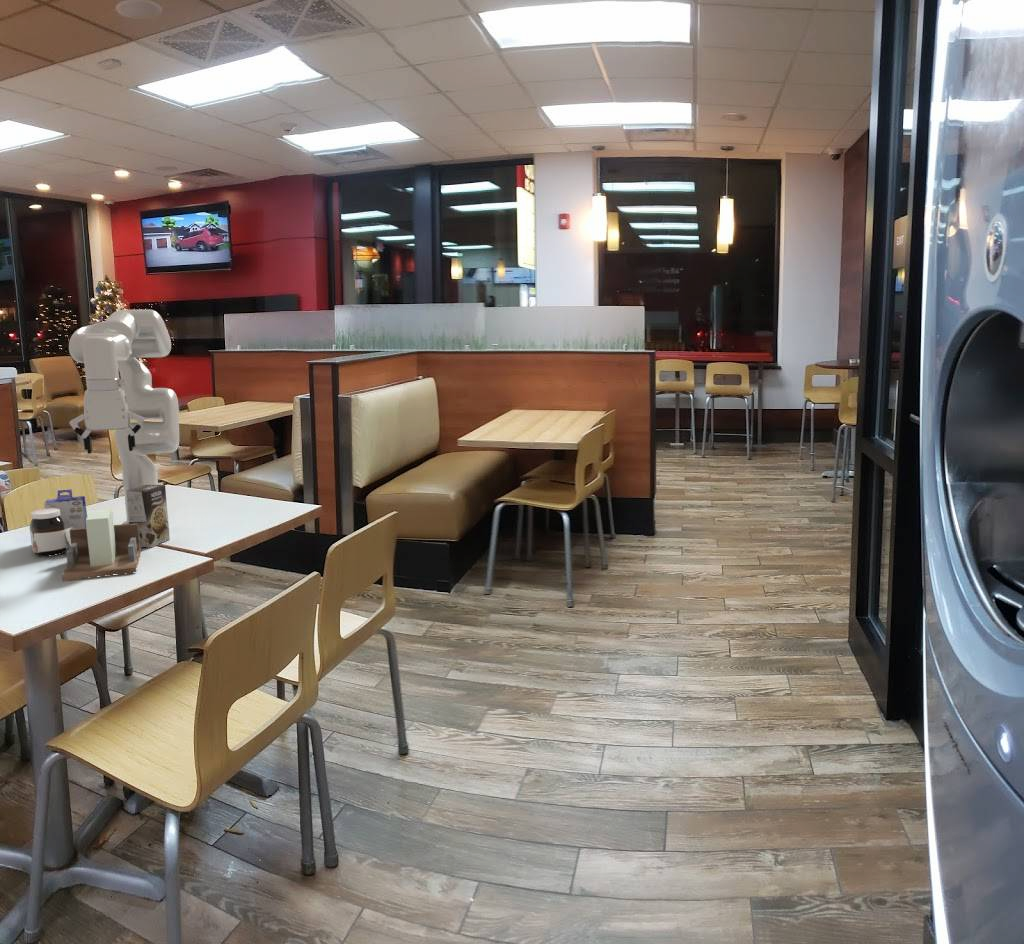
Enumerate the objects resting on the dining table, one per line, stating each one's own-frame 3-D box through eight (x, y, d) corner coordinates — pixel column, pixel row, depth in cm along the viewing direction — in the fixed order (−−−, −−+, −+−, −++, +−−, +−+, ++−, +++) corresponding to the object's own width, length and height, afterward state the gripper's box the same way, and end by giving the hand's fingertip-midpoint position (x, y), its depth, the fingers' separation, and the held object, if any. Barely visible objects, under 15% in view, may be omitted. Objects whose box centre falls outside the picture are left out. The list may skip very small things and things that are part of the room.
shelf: (74, 560, 211) (70, 528, 209) (140, 553, 216) (137, 523, 215) (63, 580, 194) (59, 547, 193) (135, 573, 200) (132, 540, 198)
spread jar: (29, 552, 219) (24, 510, 216) (74, 543, 226) (69, 503, 224) (42, 561, 210) (36, 518, 208) (88, 552, 218) (83, 510, 216)
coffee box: (151, 548, 221) (145, 491, 218) (130, 547, 222) (124, 490, 219) (171, 539, 230) (166, 484, 227) (151, 538, 231) (145, 483, 228)
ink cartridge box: (90, 536, 234) (84, 487, 231) (88, 541, 229) (82, 491, 226) (51, 539, 230) (45, 490, 228) (48, 544, 225) (42, 494, 223)
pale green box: (95, 555, 210) (90, 510, 207) (116, 553, 211) (112, 509, 209) (90, 566, 201) (85, 519, 198) (112, 564, 202) (107, 518, 200)
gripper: (141, 382, 210) (148, 446, 214) (67, 384, 205) (75, 450, 209) (139, 386, 203) (146, 452, 207) (62, 388, 198) (71, 456, 202)
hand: (110, 451), depth 208 cm, fingers open, 9 cm apart
